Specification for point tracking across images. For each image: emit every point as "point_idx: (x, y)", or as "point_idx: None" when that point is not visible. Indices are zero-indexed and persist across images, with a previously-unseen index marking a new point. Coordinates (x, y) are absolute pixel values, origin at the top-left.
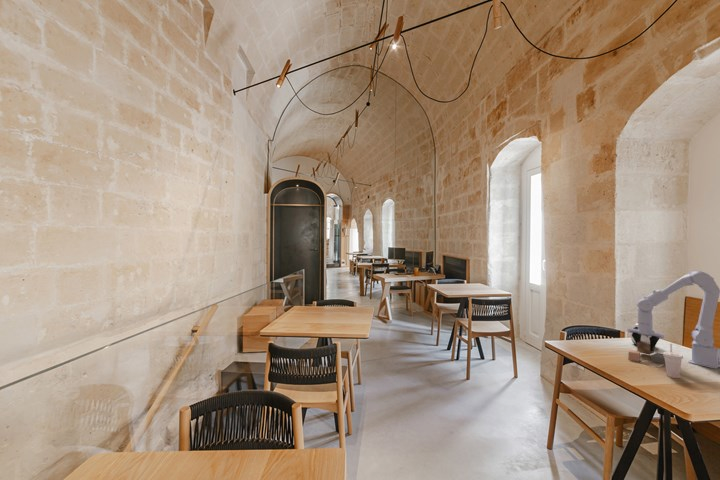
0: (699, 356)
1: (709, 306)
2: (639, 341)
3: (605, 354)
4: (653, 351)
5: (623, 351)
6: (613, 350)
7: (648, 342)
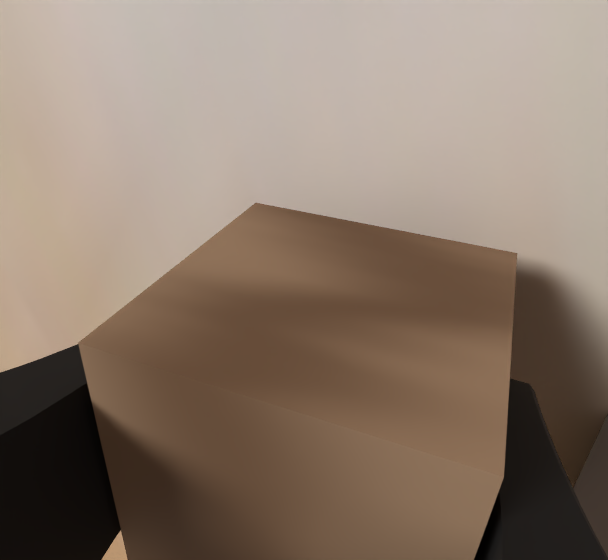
0: None
1: None
2: (114, 488)
3: None
4: (512, 282)
5: (99, 303)
6: (31, 344)
7: (318, 475)
